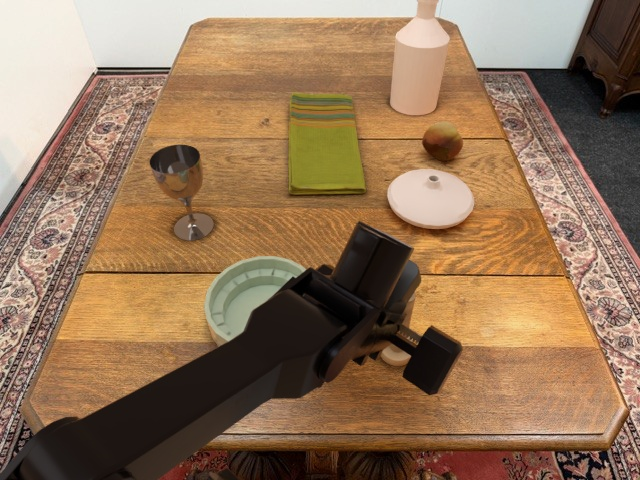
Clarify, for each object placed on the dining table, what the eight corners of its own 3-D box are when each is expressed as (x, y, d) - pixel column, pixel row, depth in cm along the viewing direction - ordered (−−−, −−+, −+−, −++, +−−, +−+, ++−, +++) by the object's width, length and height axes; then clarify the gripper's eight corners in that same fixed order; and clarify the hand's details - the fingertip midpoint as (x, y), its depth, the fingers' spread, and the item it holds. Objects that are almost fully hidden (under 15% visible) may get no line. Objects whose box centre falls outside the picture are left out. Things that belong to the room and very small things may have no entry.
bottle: (440, 116, 112) (462, 4, 94) (390, 115, 112) (402, 4, 94) (434, 91, 120) (452, -16, 102) (387, 91, 120) (397, -16, 103)
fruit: (459, 170, 97) (467, 136, 91) (418, 165, 98) (424, 132, 92) (459, 149, 102) (466, 116, 96) (420, 145, 103) (425, 112, 98)
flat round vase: (378, 229, 85) (382, 199, 80) (392, 176, 95) (396, 147, 90) (468, 245, 82) (477, 214, 77) (472, 189, 92) (481, 159, 87)
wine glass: (207, 244, 83) (189, 175, 72) (164, 239, 84) (140, 171, 73) (221, 214, 88) (207, 146, 77) (181, 210, 89) (161, 142, 78)
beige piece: (409, 370, 65) (423, 314, 56) (375, 361, 66) (383, 305, 57) (415, 341, 68) (429, 284, 59) (382, 333, 69) (391, 276, 60)
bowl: (298, 379, 64) (297, 360, 61) (191, 349, 68) (183, 329, 64) (332, 289, 75) (332, 268, 72) (238, 267, 79) (233, 246, 75)
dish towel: (351, 102, 117) (352, 90, 114) (367, 194, 92) (368, 181, 89) (289, 104, 116) (288, 91, 114) (288, 197, 91) (287, 184, 89)
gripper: (475, 305, 42) (497, 302, 55) (312, 216, 50) (366, 233, 64) (416, 412, 43) (452, 383, 57) (268, 308, 51) (330, 305, 65)
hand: (398, 321), depth 61 cm, fingers open, 9 cm apart
